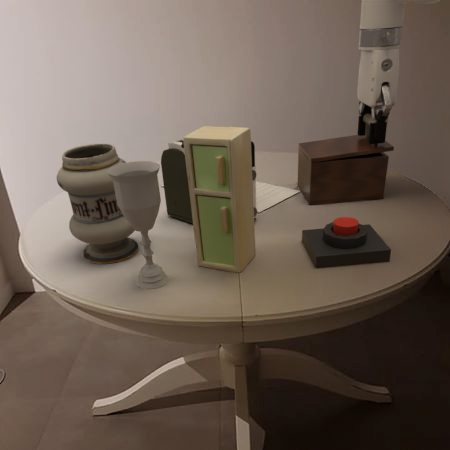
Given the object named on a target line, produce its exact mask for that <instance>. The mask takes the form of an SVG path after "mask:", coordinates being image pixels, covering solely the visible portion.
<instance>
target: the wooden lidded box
mask: <svg viewBox="0 0 450 450" xmlns="http://www.w3.org/2000/svg"><path fill="white" fill-rule="evenodd" d="M297 151H298V153H297V154H298V156H297V188H298V190H299V191H300V193H301V195H302V196H303V197H304V199H305V201H306V202H307V204H308V205H309V206H313V205H315V206H317V205H328V204H338V203H350V202H361V201H373V200H383V199H384V195H385V190H386V189H385V188H386V181H387V173H388V166H389V161H390V160H389V159H390V156H389V155H387V154H386V152H380V153H373V154H367V155H360V156H353V157H346V158H339V159H332V160H325V161H318V162H311V161H310V160H309V159H308V158H307V157H306V155H305V154H304V153H303V152H302V150H301V149H300V148H299V147H298V150H297Z"/></svg>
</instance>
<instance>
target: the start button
mask: <svg viewBox="0 0 450 450" xmlns="http://www.w3.org/2000/svg"><path fill="white" fill-rule="evenodd" d="M332 222H333V233H335V234H338V235H344V236H348V235H355V234H357V233H358V225H359V224H360V223H359V220H358V219H356V218H354V217H350V216H341V217H336V218H335V219H333V221H332Z"/></svg>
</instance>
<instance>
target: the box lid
mask: <svg viewBox="0 0 450 450" xmlns="http://www.w3.org/2000/svg"><path fill="white" fill-rule="evenodd" d="M363 121H364V122H365V123H366V129H365V135H364V136H359V135H358V134H354V135H353V134H352V135H346V136H340V137H333V138H326V139H319V140H312V141H305V142H299V143H298V149H299V148H300V149H301V150H302V152H303V153H304V154H305V155H306V157H307V158H308V159H309V160H310V161H311V162H318V161H325V160H332V159H339V158H346V157H353V156H360V155H367V154H373V153H380V152H384V153H387V152H393V151H394V150H395V146H393V145H392V144H391V143H390V142H388V141H387V140H385V142H384V143H378V144H369V142H368V141H369V129H370V123H372V114H365V115H364V117H363ZM394 152H395V151H394Z"/></svg>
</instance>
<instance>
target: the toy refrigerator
mask: <svg viewBox="0 0 450 450" xmlns="http://www.w3.org/2000/svg"><path fill="white" fill-rule="evenodd" d="M182 139H183V143H184V151H185V160H186V168H187V176H188V184H189V193H190V201H191V210H192V219H193V223H192V226H193V235H194V244H195V253H196V260H197V266H199V267H204V268H209V269H215V270H221V271H226V272H231V273H238V274H239V273H241V272H243V271H244V269H245V268H246V267H247V266H248V265H249V264H250V262H251V261H252V260H253V259H254V257H255V256H256V233H255V230H256V229H255V220H254V203H253V179H252V154H251V141H252V133H251V128H250V127H243V126H214V125H213V126H212V125H203V126H201V127H199V128H198V129H195V130H193V131H191V132H190V133H187V134H186V135H185V136H183V138H182Z"/></svg>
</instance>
